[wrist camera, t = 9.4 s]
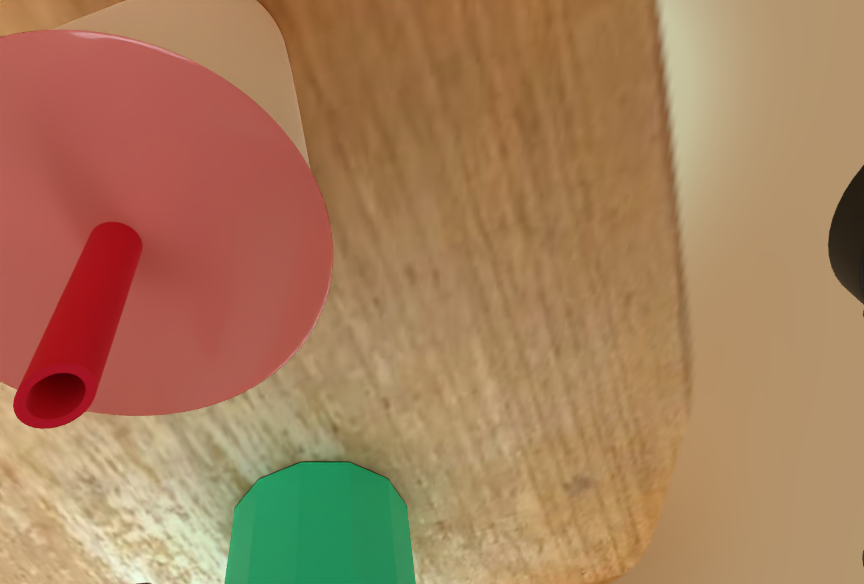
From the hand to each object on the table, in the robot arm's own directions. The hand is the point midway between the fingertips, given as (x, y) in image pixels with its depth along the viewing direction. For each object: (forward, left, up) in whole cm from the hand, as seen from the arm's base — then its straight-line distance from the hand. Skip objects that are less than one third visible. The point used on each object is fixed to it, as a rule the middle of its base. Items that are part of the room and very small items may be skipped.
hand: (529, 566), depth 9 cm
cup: (+5, -3, -12) cm, 13 cm away
